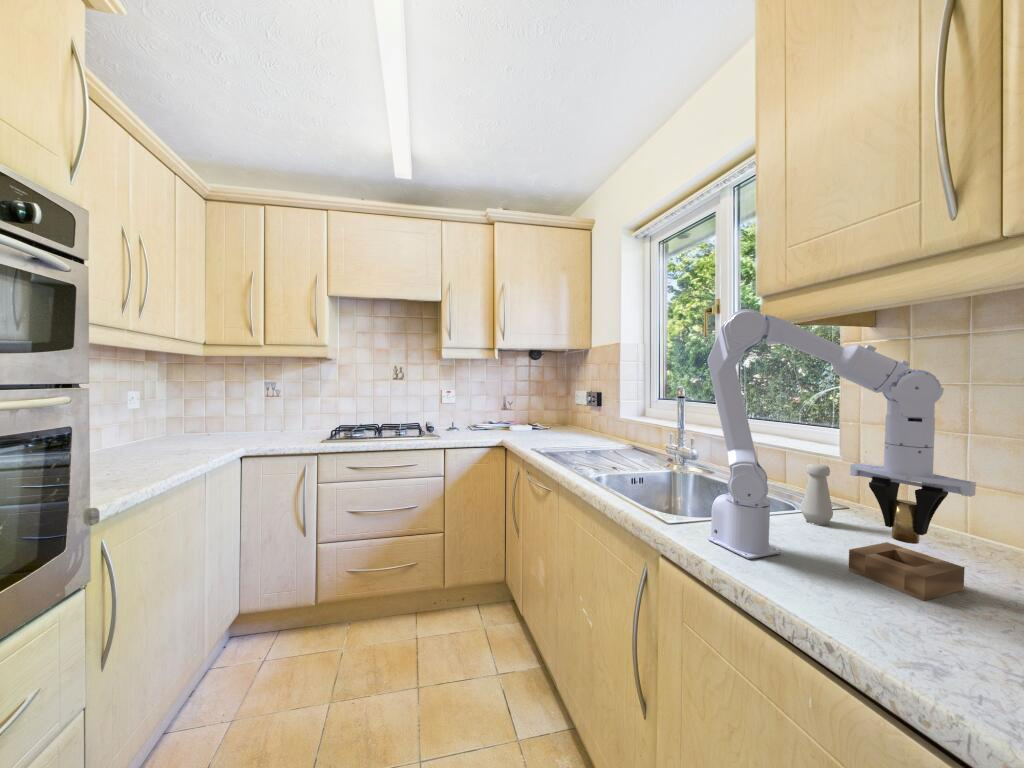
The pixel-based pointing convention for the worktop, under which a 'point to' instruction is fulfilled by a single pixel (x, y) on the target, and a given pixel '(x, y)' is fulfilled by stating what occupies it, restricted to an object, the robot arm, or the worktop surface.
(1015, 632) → the worktop surface
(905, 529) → the bronze pin
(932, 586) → the hole block
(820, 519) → the salt shaker
